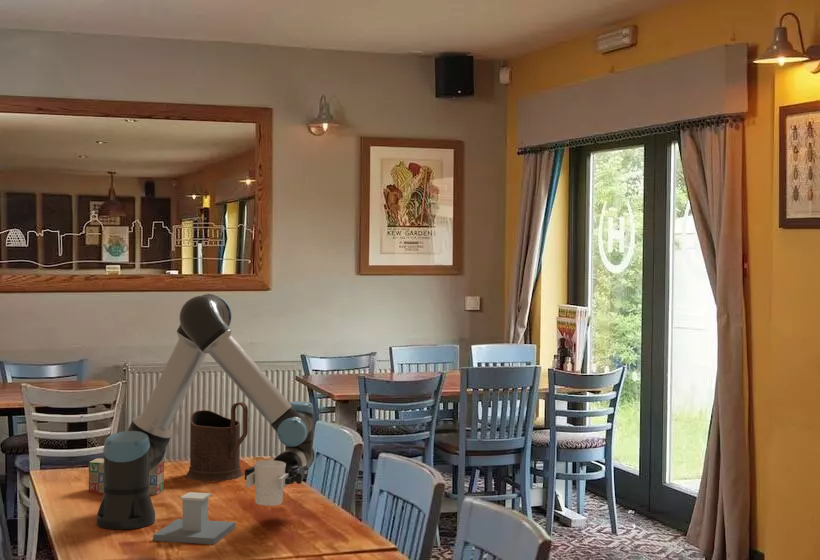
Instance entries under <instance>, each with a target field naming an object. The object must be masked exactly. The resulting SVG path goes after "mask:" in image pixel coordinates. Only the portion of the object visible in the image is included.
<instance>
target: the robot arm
mask: <svg viewBox="0 0 820 560" xmlns="http://www.w3.org/2000/svg"><path fill="white" fill-rule="evenodd" d="M231 310H232V309H231V307H230V305H229V303H228V302H227V301H226V300H225V299H223V298H222V297H221V296H218V295H216V294H212V293H207V294H202V295H198V296H193V297H191V298H189V299H188V300H187V301H186V302H184V304H183V305H182V307H181V309H180V312H179V323H180V324H179V326H178V328H177V330H176V334H177V337H178V340H177V342H176V344H175V346H174V348H173V350H172V353H171V354H170V356H169V358H168V360H167V362H166V364H165V367H164V369H163V370H162V372H161V373H160V374H161V375H160V377H159V379H158V381H157V382H156V384H155V387H154V388H153V391H152V392H151V395H150V397H149V399H148V400H147V403H146V405H145V406H144V409H143V411H142V412H141V414H140V415H138V416H136V417H134V418H133V419H132V420H131V423H130V424H129V427H128V429H127V430H126V431H125V430H124V431H118V432H113V434H112V433H111V434H110V435H109V436H107V437H106V438H105V439H104V442H103V444H104V445H103V449H102V450H103V451H102V453H103V459H104V493H103V496H102V498H101V502H100V503H99V508H98V510H97V513H96V525H97V526H98V527H100V528H103V529H108V530H109V529H110V530H132V529H139V528H145V527H147V526H150V525H152V524H154V523H155V522H156V511H155V508H154V507H155V506H154V504H153V501H152V498H151V495H149V471H150V470H151V469H153V468H155V467H156V466H157V465H158V464H159V463H160V462H161V461H162V459H163V458H164V459H165V455H166V452H167V446H168V445H169V442H170V439H171V438H172V435H173V434H172V431H171V429H170V428H171V425H172V424H173V422H174V420H175V418H176V416H177V414H178V412H179V410H180V407H181V405H182V403H183V402H184V399H185V398H186V396H187V393H188V391H189V389H190V387H191V385H192V384H193V382H194V379H195V378H196V376H197V374H198V371H199V369H200V367H201V366H202V363H203V361H204V359H205V357H206V355H207V354H208V355H210V357H211V358H212V360H214V361H215V362H216V364H218V366H219V367H220V368H221V369H222V371H224V372H225V374H226V375H227V376H228V378H230V380H231V381H232V382H233V383H234V385H235V386H237V388H238V389H239V390H240V391H241V392H242V393H243V394H244V396H245V397H246V398H247V399H248V401H250V403H251V404H252V405H253V407H255V408H256V410H257V411H258V412H259V413H260V415H261V416H262V417H263V418H264V419H265V420H266V422H268V424H269V425H270V426H271V428H272V429H273V430H274V431H275V432H276V435H277V438H278V441H280V443H281V444H283V445H284V446H285V450H283V452H280V454H278V455H276V457H275V458H274V459H273V460H274V461H282V462H285V463H286V468H285V475H283V476H281V477H280V478H279V482H278V490H281V489H283V488H285V487H286V486H288V485H292V484H294V482H295V483H296V484H298V485H300V484H302V483H303V481H304V478H306V477H308V469H310V468H311V466H312V465H313V463H315V460H316V450H315V448H314V446H313V430H314V429H313V427H314V406H313V405H314V404H313V403H312V402H309V401H302V400H299V401H298V400H297V401H295V400H294V401H290V402H289V401H288V400H287V399H286V397H285V396H284V395H283V394H282V393H281V392H280V390H279V389H278V388H277V387H276V386H275V384H274V383H273V382H272V381H271V379H269V377H268V376H267V375H266V374H265V373H264V371H263V370H262V369H261V368H260V367H259V365H257V364H256V362H255V361H254V360H253V359H252V358H251V356H250V355H249V354H248V353H247V351H245V349H244V348H243V347H242V346H241V345H240V344H239V342H238V341H237V340H236V338H234V336H232V328H231V327H230V325H231V322H232V318H233V317H232V311H231ZM244 480H245V487H246V488H250V487H252V486H254V485H255V478H254V465H253V466H251V467H248V468H246V469H244Z"/></svg>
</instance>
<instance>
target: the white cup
mask: <svg viewBox="0 0 820 560" xmlns="http://www.w3.org/2000/svg"><path fill="white" fill-rule="evenodd" d="M253 466H254V478H255V484H254V492H255V499H254V500H255V504H256V505H260V506H266V507H268V506H277V505H281V504H283V500H284V499H283V498H284V490H285V489H284V488H285V487H284V488H283V489H281V490H278V482H279V478H280V477H281V476H283V475H285V468H286V463H285V462H282V461H274V459H273V460H271V459H269V460H268V459H267V460H265V459H264V460H258V461H255V462H254V465H253Z"/></svg>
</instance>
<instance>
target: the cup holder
mask: <svg viewBox="0 0 820 560" xmlns="http://www.w3.org/2000/svg"><path fill="white" fill-rule="evenodd" d="M238 406H240V407H242V411H243V412H242V420H243V421H242V434H241V422H240V421H239V420H236V419H237V417H236V412H237V411H236V409H237V408H238ZM230 408H231V409H230V418H228V417H225V416H223V415H221V414H219V413H216V412H213V411H211V410H206V409H204V410H196V411H194V412H193V413H192V414H191V417H190V445H189V447H190V450H189V451H190V453H189V454H190V455H189V456H190V459H189V466H188V467H189V468H188V472H186V475H185V477H186V478H187V479H188V480H191V481H197V482H208V481H215V482H227V481H226V480H228V481H233V480H232V479H234V480H238V479H240V478H239V477H241V476H242V477H243V476H244V473H243V471H242V469H241V464H240V460H241V459H240V456H241V455H240V453H241V451H240V448H241V447H240V446H241V444H242V443H243V441H244V440H245V439H246V438H247V435H248V428H249V427H248V426H249V425H248V424H249V423H248V422H249V421H248V420H249V419H248V418H249V416H248V415H249V409H248V408H249V407H248V405H247V404H246V403H245V402H242V401H239V402H236V403H233V404H232V406H231V407H230ZM242 477H241V478H242ZM237 478H238V479H237Z"/></svg>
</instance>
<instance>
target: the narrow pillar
mask: <svg viewBox="0 0 820 560" xmlns="http://www.w3.org/2000/svg"><path fill="white" fill-rule="evenodd" d="M211 496H212V492H211V493H210V492H209V493H208V492H195V491H194V492H193V491H191V492H190V491H188V492H187V493H184V494H183V495H182V496H180V497H179V500H181V501H182V518H177V519H174V520H173V521H172V522H170V523H169V524H167V525H165V526H163V528H161V529H160V530H158V531H157V532H155V533H153V534H152V541H154V542H168V543H170V542H171V543H185V544H187V543H188V544H199V545H201V544H202V545H216V544H217V543H218V542H219V541H221V540H222V539H223V538H225V537H226V536H227V535H228V534H230V533H231V532H232V531H233V530H235V529H236V521H225V520H224V521H221V520H209V497H211Z"/></svg>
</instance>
